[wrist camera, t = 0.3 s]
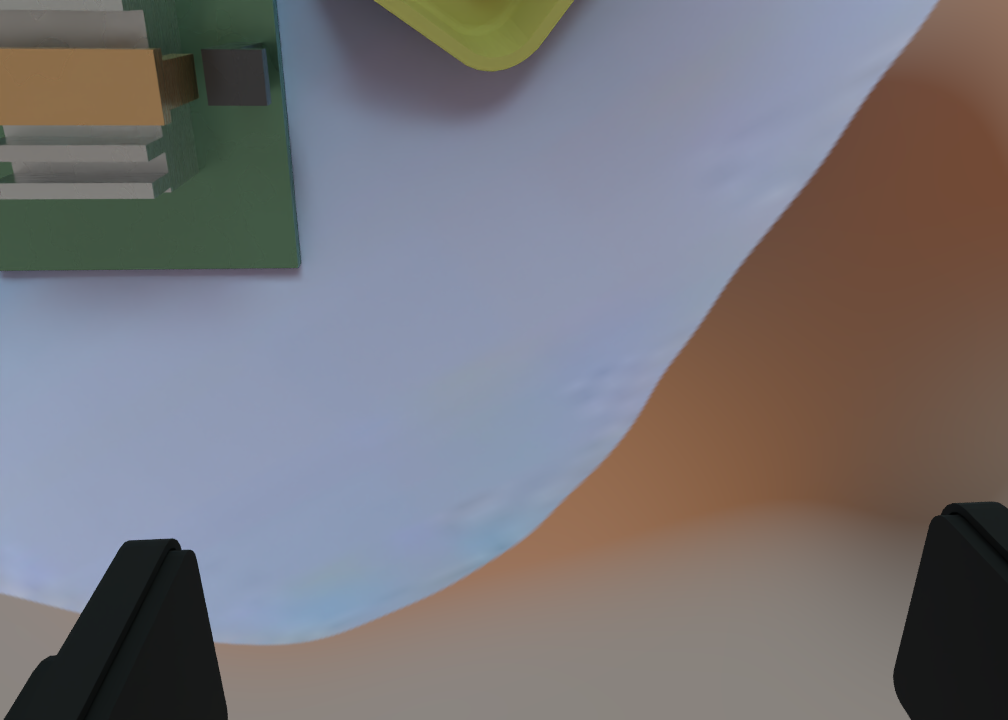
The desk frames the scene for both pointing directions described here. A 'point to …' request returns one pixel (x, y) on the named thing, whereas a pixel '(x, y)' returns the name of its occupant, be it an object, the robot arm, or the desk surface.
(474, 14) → the plastic component
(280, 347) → the desk surface
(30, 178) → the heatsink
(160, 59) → the tan rectangular block
